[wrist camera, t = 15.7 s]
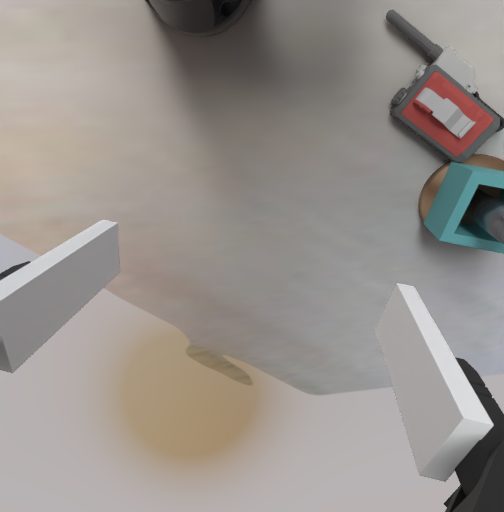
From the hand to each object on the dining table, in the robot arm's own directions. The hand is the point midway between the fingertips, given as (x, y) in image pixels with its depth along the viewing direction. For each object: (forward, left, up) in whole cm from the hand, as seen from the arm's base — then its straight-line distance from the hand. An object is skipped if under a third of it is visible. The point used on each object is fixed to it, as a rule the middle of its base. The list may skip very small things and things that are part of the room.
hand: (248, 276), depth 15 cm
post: (+1, +26, -33) cm, 42 cm away
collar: (+1, +26, -33) cm, 42 cm away
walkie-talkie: (-11, +16, -35) cm, 40 cm away
